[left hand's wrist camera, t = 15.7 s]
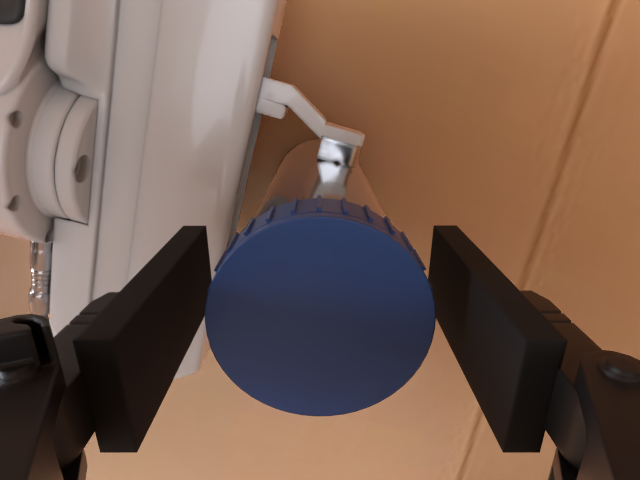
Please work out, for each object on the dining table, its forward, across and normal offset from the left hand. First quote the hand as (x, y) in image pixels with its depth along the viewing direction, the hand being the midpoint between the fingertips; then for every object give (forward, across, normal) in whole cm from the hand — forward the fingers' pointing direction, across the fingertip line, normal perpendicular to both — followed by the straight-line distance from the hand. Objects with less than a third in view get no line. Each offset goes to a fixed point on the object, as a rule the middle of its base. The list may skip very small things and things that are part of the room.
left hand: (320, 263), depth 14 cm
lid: (-4, 0, 0) cm, 4 cm away
